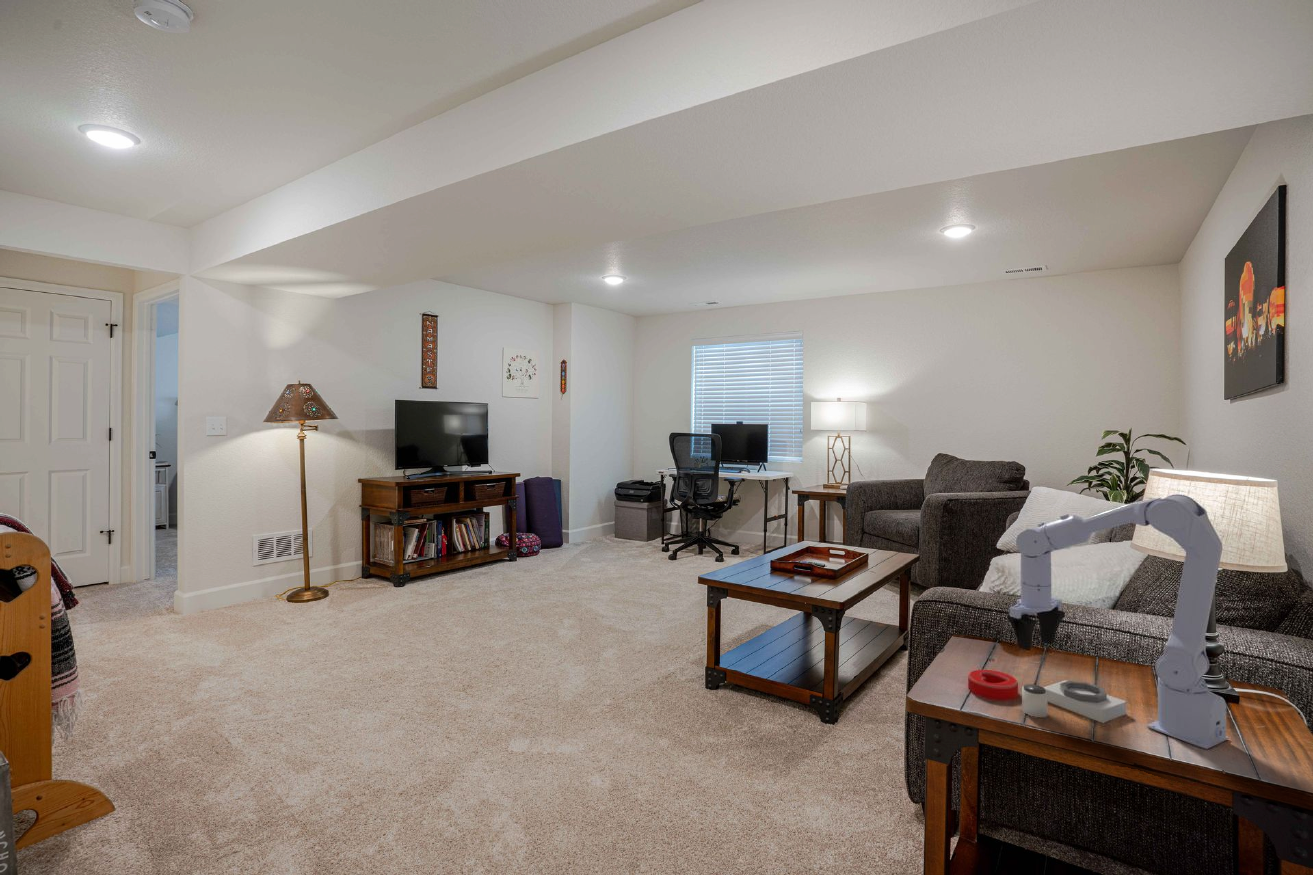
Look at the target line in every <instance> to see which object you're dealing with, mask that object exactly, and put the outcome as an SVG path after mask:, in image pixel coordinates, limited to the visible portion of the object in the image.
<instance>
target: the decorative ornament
mask: <svg viewBox="0 0 1313 875" xmlns="http://www.w3.org/2000/svg"><path fill="white" fill-rule="evenodd" d="M967 688H968V690H969V691H970V692H971V693H972V694H973V695H976V696H978V695H979V696H978V697H980V696H981V698H983V697H985V698H984V699H987V698H988V700H992V699H995V701H1011V700H1010V699H1013V700H1015V699H1016V697H1017V696H1018V697H1019V682H1018V680H1017V679H1016V678H1015V677H1014V676H1012V675H1010V674H1008V673H1005V672H1002V671H997V670H994V669H993V670H992V669H976V670H975V669H974V670H972V671H970V672H969V673H968V676H967ZM1018 697H1017V698H1018ZM1014 698H1015V699H1014Z"/></svg>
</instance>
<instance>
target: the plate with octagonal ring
mask: <svg viewBox="0 0 1313 875" xmlns="http://www.w3.org/2000/svg"><path fill="white" fill-rule="evenodd" d="M1042 687H1043V688H1045V690H1046V691H1047V703H1050V704H1052V705H1056V706H1057V707H1060V708H1063V709H1065V710H1068V711H1071V712H1073V713H1076V714H1078V715H1081V716H1083V717H1086V718H1088V719H1091V720H1094V721H1097V722H1100V723H1102V724H1104V723H1106V722H1110V721H1112V720H1115V719H1117V718H1120V717H1122V716H1125V715H1127V700H1123V699H1121V698H1118V697H1114V696H1113V695H1112V696H1111V695H1109V694H1107V692H1106V691H1105V689H1104V688H1102V687H1101V686H1098V685H1096V684H1095V685H1094V684H1092V683H1089V682H1086V681H1075V680H1066V679H1064V680H1061V681H1059V682H1056V683H1055V682H1054V683H1053V684H1049V685H1046V686H1042Z"/></svg>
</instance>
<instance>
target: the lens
mask: <svg viewBox="0 0 1313 875" xmlns="http://www.w3.org/2000/svg"><path fill="white" fill-rule="evenodd" d="M1043 687H1044V686H1040V685H1038V684H1024V685H1023V686H1022V687H1021V706H1022V707H1021V711H1023V712H1024V713H1026V714H1028V715H1027V716H1029V715H1030V716H1029V717H1032V716H1036V717H1035V718H1037V717H1044V718H1046V717H1045V716H1047V717H1048V702H1047V691H1046V690H1045V688H1043ZM1023 712H1022V713H1023ZM1024 713H1023V714H1024ZM1026 714H1025V715H1026Z"/></svg>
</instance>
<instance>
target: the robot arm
mask: <svg viewBox="0 0 1313 875" xmlns="http://www.w3.org/2000/svg"><path fill="white" fill-rule="evenodd" d="M1059 518H1060V519H1057V520H1053V521H1051V522H1050V521H1049V522H1047V523H1045V522H1040V523H1038V524H1037V526H1036V527H1035V526H1034V527H1031V528H1026V529H1024V530H1022V532H1020V533H1019V534H1018V535H1017V537H1016V539H1015V540H1016V541H1015V543H1016V546H1017V549H1018V551H1019V552H1020V598H1019V599H1018V598H1017V599H1016V604H1015V605H1013V606H1010V607H1009V613H1007V614H1006V615H1007V617H1006V618H1007V621H1008V622H1009V623H1010V624H1011V627H1012V629H1013V631H1014V633H1015V637H1016V641H1017V643H1018V648H1019V649H1022V650H1025V651H1031V649H1032V644H1033V643H1032V642H1033V633H1034V631H1035V628H1036V624H1037V623H1039V628H1040V631H1039V632H1040V639H1041V642H1042V643H1046V644H1049V645H1053V644H1054V643H1055V642H1054V641H1055V638H1056V635H1057V632H1058V629H1059V627H1060V624H1061V623H1062V621H1063V619H1064V618H1065V617H1066V613H1065V611H1063V610H1062V609H1063V608H1062V607H1063V606H1062V604H1063V602H1062V600H1061V599H1059V598H1054V597H1052V551H1060V550H1062V549H1065V548H1070V547H1072V546H1077V545H1081V544H1084V543H1086V542H1088V541H1089V539H1090V537H1091V536H1092V534H1093V533H1096V532H1101V531H1105V530H1108V529H1112V528H1117V527H1120V526H1124V525H1128V524H1136V525H1139V526H1143V527H1147V526H1150V525H1151V527H1152V528H1154V529H1155V530H1157V531H1158V532H1161V533H1162V534H1164V535H1165V536H1168V537H1169V538H1171V539H1172V540H1174V541H1175V542H1176V544H1178V545H1179V546H1180V547H1181V548H1182V549H1183V550H1184V551H1185V557H1184V562H1183V568H1182V574H1181V578H1180V582H1179V589H1178V594H1177V599H1176V605H1175V610H1174V616H1173V622H1172V626H1171V631H1170V634H1169V637H1168V639H1167V642H1166V643H1165V648H1164V652H1163V654H1162V655H1161V656H1160V657H1159V658H1158V659H1157V660H1156V662H1155V667H1154V668H1155V673H1156V675H1157V720H1155V721H1153V722H1150V723H1148V724H1147V725H1146V727H1147V728H1149V729H1150V730H1153V731H1157V732H1159V733H1163V734H1164V735H1166V736H1170V737H1173V738H1175V739H1178V740H1181V741H1183V742H1186V743H1188V744H1191V745H1194V746H1196V747H1199V748H1202V749H1205V750H1208V749H1210V748H1212V747H1214V746H1216V745H1218V744H1220V743H1222V742H1225V741H1227V740H1228V739H1229V736H1228V735H1227V704H1226V700H1225V699H1224V698H1223V697H1222V696H1220V695H1218V694H1215V693H1213V692H1212V691H1210V690H1209V689H1208V688H1209V686H1208V684H1207V683H1206V681H1205V679H1204V678H1203V676H1204V675H1206V673H1207V672H1208V671H1209V669H1210V661H1209V658H1208V656H1207V651H1206V650H1207V649H1206V648H1207V640H1206V635H1207V634H1206V633H1207V629H1208V624H1209V620H1210V619H1209V618H1210V613H1211V610H1212V603H1213V598H1214V594H1215V589H1216V583H1217V578H1218V572H1219V567H1220V564H1221V563H1220V562H1221V558H1222V551H1223V543H1222V540H1221V539H1220V537H1219V535H1218V533H1217V531H1216V530H1215V528H1214V525H1213V524H1212V522H1211V521H1210V519H1209V516H1208V512H1207V509H1205V508H1204V507H1203V506H1202V505H1201V504H1199V503H1198V502H1197V501H1196V500H1195V499H1194V498H1192V497H1190V496H1188V495H1185V494H1178V493H1177V494H1171V495H1169V496H1165V497H1164V498H1162V497H1156V498H1149V499H1146V500H1139V501H1135V502H1131V503H1128V504H1125V505H1122V506H1120V507H1116V508H1113V509H1111V510H1110V509H1109V510H1108V511H1105V512H1102V513H1099V514H1095V515H1093V516H1090V517H1086V518H1084V517H1081V516H1079V515H1075V514H1073V515H1072V514H1071V515H1070V514H1069V513H1068V514H1063V515H1060V517H1059ZM1034 614H1036V617H1037V619H1038V621H1037V620H1036V619H1033V618H1030V615H1034Z"/></svg>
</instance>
